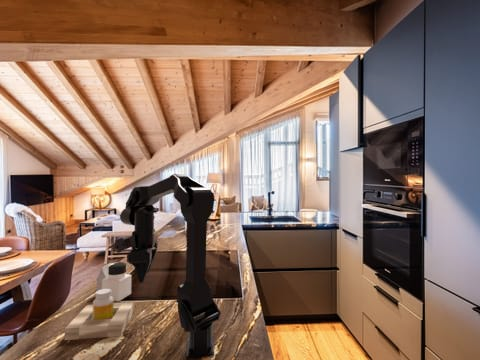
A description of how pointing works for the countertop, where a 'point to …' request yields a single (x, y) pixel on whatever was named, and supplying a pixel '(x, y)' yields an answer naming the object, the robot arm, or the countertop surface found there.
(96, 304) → the supplement bottle
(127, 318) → the socket block
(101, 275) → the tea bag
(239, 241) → the countertop surface
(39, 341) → the countertop surface
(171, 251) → the countertop surface
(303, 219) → the countertop surface
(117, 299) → the medicine bottle
